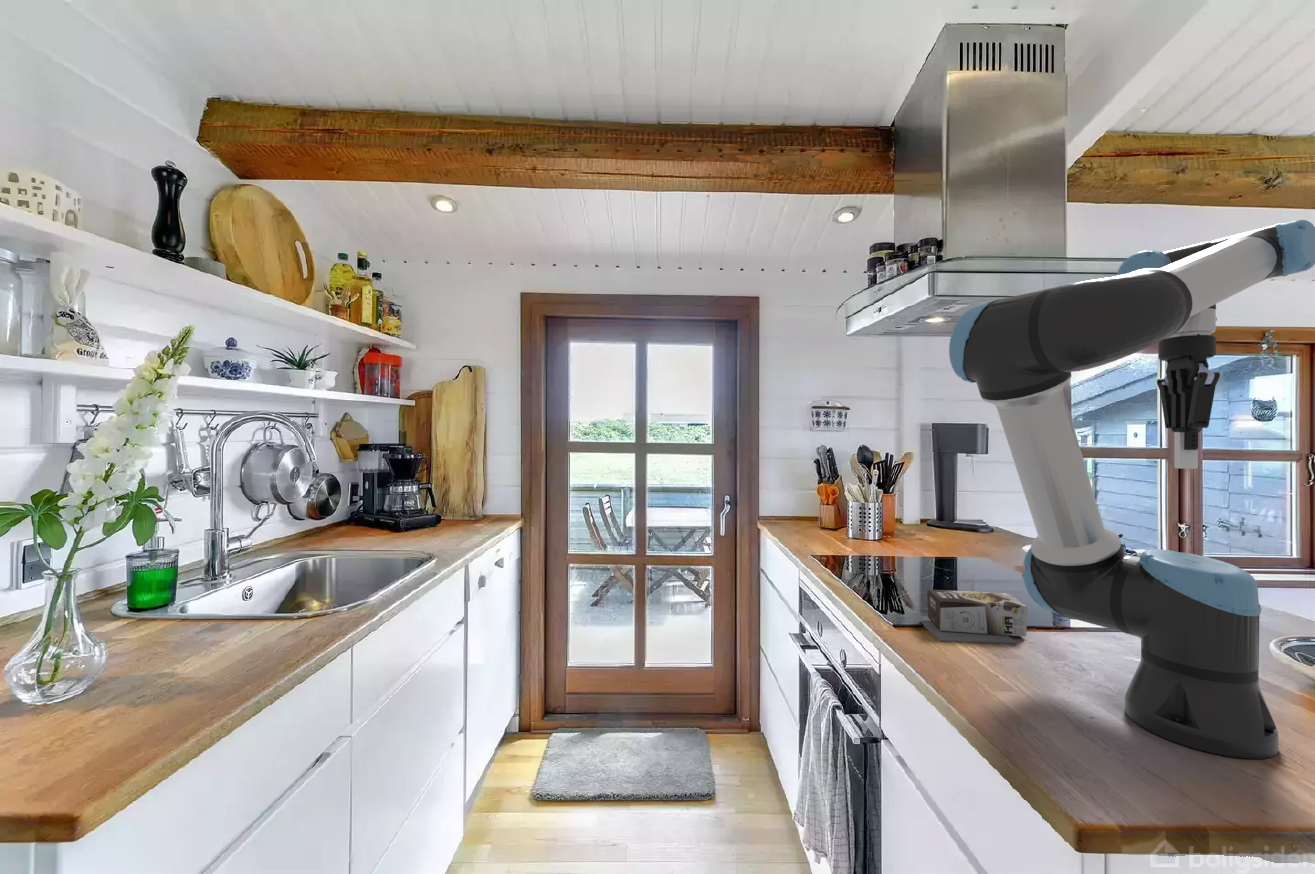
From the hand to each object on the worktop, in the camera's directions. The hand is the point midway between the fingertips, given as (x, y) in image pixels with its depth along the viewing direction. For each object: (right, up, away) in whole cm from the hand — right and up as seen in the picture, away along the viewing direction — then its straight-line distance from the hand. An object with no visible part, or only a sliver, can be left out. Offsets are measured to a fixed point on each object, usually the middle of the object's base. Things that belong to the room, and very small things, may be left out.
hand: (1185, 468), depth 100 cm
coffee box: (-21, -31, +14) cm, 40 cm away
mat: (-32, -34, +14) cm, 49 cm away
